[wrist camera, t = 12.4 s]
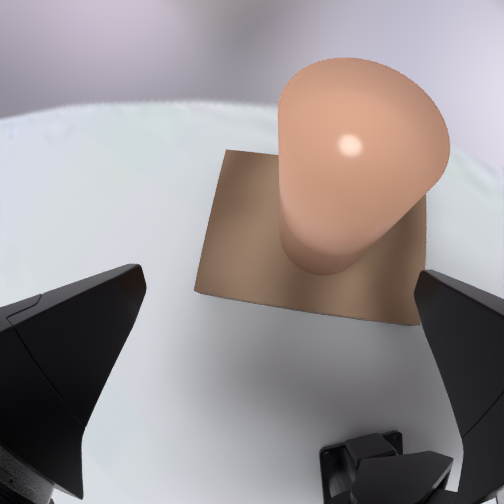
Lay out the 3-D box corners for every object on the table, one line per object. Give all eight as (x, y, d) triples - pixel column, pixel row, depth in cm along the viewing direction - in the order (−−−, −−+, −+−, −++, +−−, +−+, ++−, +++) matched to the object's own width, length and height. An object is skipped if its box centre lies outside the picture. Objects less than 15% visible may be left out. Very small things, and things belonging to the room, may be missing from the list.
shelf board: (416, 192, 24) (425, 182, 22) (409, 325, 22) (419, 325, 20) (229, 161, 26) (226, 149, 24) (200, 293, 23) (193, 290, 22)
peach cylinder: (380, 241, 21) (477, 146, 9) (314, 292, 21) (365, 241, 8) (328, 178, 23) (365, 41, 10) (262, 223, 22) (241, 100, 10)
